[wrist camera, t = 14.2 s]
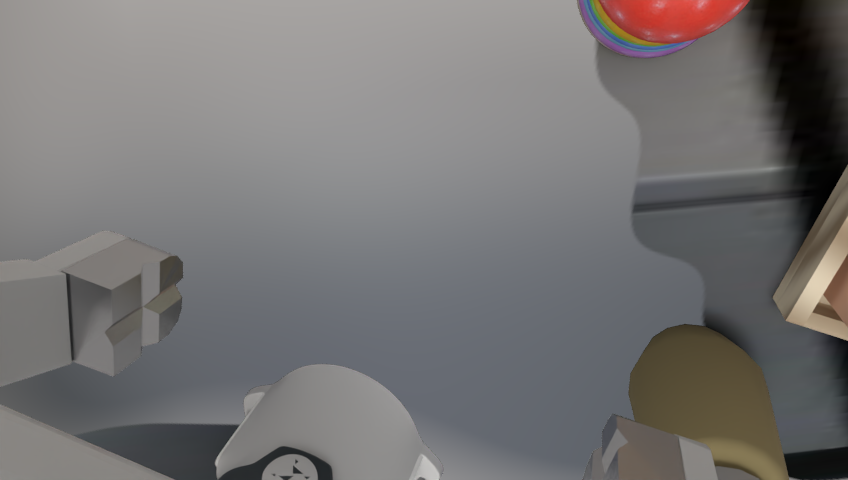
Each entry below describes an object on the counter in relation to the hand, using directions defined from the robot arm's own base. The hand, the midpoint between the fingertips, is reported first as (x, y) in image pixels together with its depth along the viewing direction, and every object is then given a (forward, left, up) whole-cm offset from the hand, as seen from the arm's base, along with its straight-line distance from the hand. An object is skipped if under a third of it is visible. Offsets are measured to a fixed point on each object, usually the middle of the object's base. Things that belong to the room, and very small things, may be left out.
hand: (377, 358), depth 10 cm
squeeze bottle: (-14, -15, -29) cm, 36 cm away
